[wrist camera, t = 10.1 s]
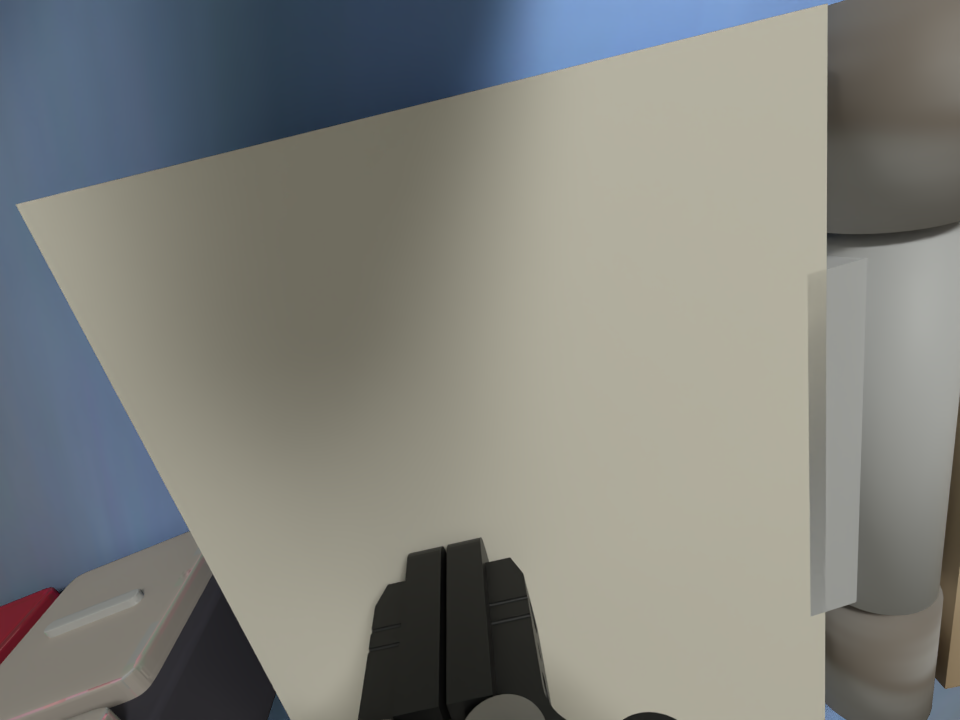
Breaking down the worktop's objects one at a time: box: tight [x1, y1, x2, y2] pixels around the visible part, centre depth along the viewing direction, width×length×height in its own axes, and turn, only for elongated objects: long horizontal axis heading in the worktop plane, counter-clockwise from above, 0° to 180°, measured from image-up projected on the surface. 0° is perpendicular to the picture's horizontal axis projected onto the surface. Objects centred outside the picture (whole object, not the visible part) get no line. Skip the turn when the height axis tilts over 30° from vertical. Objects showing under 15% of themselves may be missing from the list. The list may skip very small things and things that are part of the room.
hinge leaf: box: [16, 4, 960, 720], centre depth 13 cm, size 16×18×3 cm
